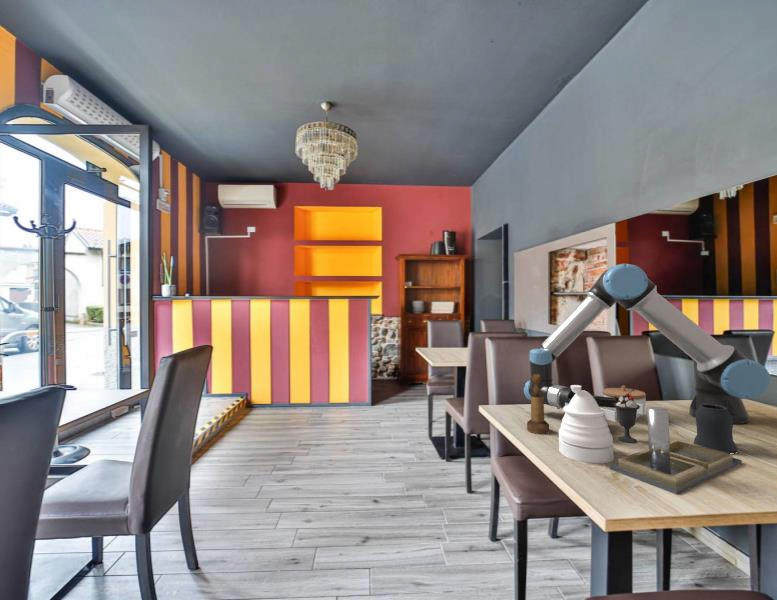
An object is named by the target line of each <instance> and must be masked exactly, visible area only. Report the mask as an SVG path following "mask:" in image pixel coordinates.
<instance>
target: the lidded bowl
mask: <svg viewBox="0 0 777 600" xmlns="http://www.w3.org/2000/svg"><path fill="white" fill-rule="evenodd" d="M632 389H634V388H629V387H628V388H627V387H626V385H621V387H607V388H604V389H603V390H602V394H603V397H612V398H614V397H615V396H616V397H618V398H619V397H621V396H623V395H625V394H628V393H629V392H630V391H631V390H632ZM634 390H635V391H633V390H632V391H633V392H632V391H631V392H632V393H631V392H630V393H629V394H631V395H630V396H632V397H633V398H634V399H633V400H634V401H635V402H636V403H638V404H643V405H644V411H645V410H646V404H647V403H646V402H647V401H646V400H647V399H646V397H647V394H646V393H645V391H642V390H639V389H634ZM605 409H607V410H612V411H616V408H611V407H605ZM641 416H643V414H639V413H636V419H637V420H638V419H639V418H640V417H641ZM616 418H617V419H616V420H618V416H617V411H616Z"/></svg>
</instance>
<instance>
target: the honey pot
mask: <svg viewBox="0 0 777 600" xmlns="http://www.w3.org/2000/svg"><path fill="white" fill-rule="evenodd" d="M570 388H571V389H572V391H573V392H574V393H576V394H575V395H574V396H573V398H572V399H571V401H570V403H569V405H566V406H564V407H563V409H562V411H563V412H565V413H564V415H563V417H562V419H561V420H562V421H561V423H560V427H559V429H558V450H559V453H560V454H561V455H562V456H564V457H567V459H568V458H569V459H571V460H574V461H577V462H582V463H586V464H587V463H588V464H606V463H610V462H612V461H613V460H614V457H615V456H614V444H613V443H614V441H613V435H612V433H611V432H610V431H611V430H610V428H609V427H608V425H609V424H608V422H607V421H606V419H604V416H603V415H605V411H604V410H603V409H604V408H603V409H601V408H602V407H599V406H598V404H597V402H596V401H595V399H594V398H593V397H592V395H593V394H591V393H590V392H589V391H586V390H583V389H582V385H579V384H572V385H570Z"/></svg>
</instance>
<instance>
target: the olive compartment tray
mask: <svg viewBox="0 0 777 600" xmlns="http://www.w3.org/2000/svg"><path fill="white" fill-rule="evenodd" d="M646 412H647V432H648V433H647V434H648V435H647V436H648V438H647V439H648V449H644V450H641V451H638V452H635V453H632V454H629V455H627V456H624V457H621V458H620V457H619V458H618V462H617V463H613V464H610V465H609V469H610V470H611V471H614V472H617V473H619V474H622V475H625V476H628V477H630V478H633V479H635V480H637V481H640V482H643V483H646V484H648V485H651V486H654V487H657V488H659V489H662V490H664V491H667V492H669V493H672V494H674V495H678V494H679V493H682V492H684V491H686V490H689V489H690V487H691V488H692V486H693V487H694V485H695V486H697V485H698V483H699V484H701V483H703V482H705V480H706V481H708V480H709V478H710V479H711V477H712V478H714V477H716V476H718V475H720V474H722V472H723V473H724V471H725V472H726V470H727V471H728V469H729V470H731V469H732V467H733V468H735V467H737V466H739V465H742V464H743V460H742V459H740V458H735V457H733V454H730V453H726V452H722V451H719V450H715V449H711V448H707V447H703V446H700V445H696V444H693V443H692V442H688V441H685V440H680V439H675V438H674V439H672V440H670V424H669V422H670V421H669V409H667V408H665V407H660V406H648V407H647V408H646ZM741 463H742V464H741ZM738 464H739V465H738ZM736 465H737V466H736ZM734 466H735V467H734ZM730 468H731V469H730ZM715 475H716V476H715ZM713 476H714V477H713ZM707 479H708V480H707ZM702 481H703V482H702ZM700 482H701V483H700ZM696 484H697V485H696ZM688 488H689V489H688Z"/></svg>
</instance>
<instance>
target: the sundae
mask: <svg viewBox="0 0 777 600" xmlns="http://www.w3.org/2000/svg"><path fill="white" fill-rule="evenodd" d="M631 389H632V390H633V391H635V390H636V389H635V390H634V388H631ZM632 390H631V391H632ZM631 391H630V392H631ZM633 391H632V392H633ZM630 392H629V393H630ZM632 392H631V393H632ZM629 393H628V394H625V395H623V396H621V397H619V398H618V397H616V396H615V397H614V398H615V401H616V403H613V405H615V407H616V411H617V416H618V419H617V420H618V423H619V425H620V426H622V427H623V429H624V434H623V435H622V436H618V437H617V440H618V441H620V442H622V441H623V442H622V443H627V442H628V444H636V443H638V442H639V441H638V440H637V439H636V438H634V437H632V436H631V433H630V429H631V428H633V427H635V425H636V421H637V420H636V413H637V409H639V408H640V406H639V405H638V404H636V402H635V401H634V400H633V399H634V398H633V397H632V396H630V395H631V394H629Z"/></svg>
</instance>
